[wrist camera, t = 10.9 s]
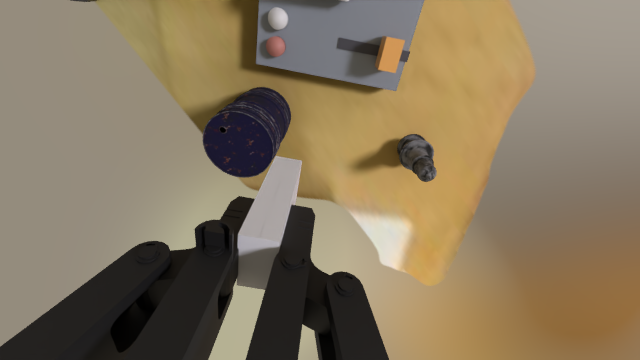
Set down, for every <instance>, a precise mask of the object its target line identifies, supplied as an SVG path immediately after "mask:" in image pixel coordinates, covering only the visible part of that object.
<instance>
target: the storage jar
mask: <svg viewBox="0 0 640 360" xmlns="http://www.w3.org/2000/svg"><path fill="white" fill-rule="evenodd" d="M290 120H291V112H290V108H289V105H288V103H287V102H286V100H285V99H284V98H283V96H282V95H280V94H279V93H278V92H276V91H275V90H272V89H270V88H266V87H257V88H254V89H251V90H249V91H248V92H246V93H244V94H243V95H241V96H239V97H238V98H237V99H236V100H235V101H234V102H233V103H231V104H229V105H227V106H226V107H224V108H223V109H222V110H221V111H219V112H218V113H217V114H216V115H215V116H214V117H213V118H211V119H210V120H209V122H208V123H207V125H206V126H205V129H204V132H203V145H204V149H205V152H206V154H207V156H208V157H209V159H210V160H211V161H212V162H213V163H214V165H215V166H217V167H218V168H219V169H221V170H222V171H223V172H225V173H227V174H230V175H232V176H236V177H243V178H245V177H253V176H256V175H258V174H260V173H262V172H263V171H265V170H266V169H267V167H268V166H269V165H270V163H271V161H272V159H273V158H274V157H275V155H276V153H277V151H278V149H279V147H280V143H281V141H282V140H283V139H284V137H285V134H286V132H287V130H288V127H289V124H290Z"/></svg>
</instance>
